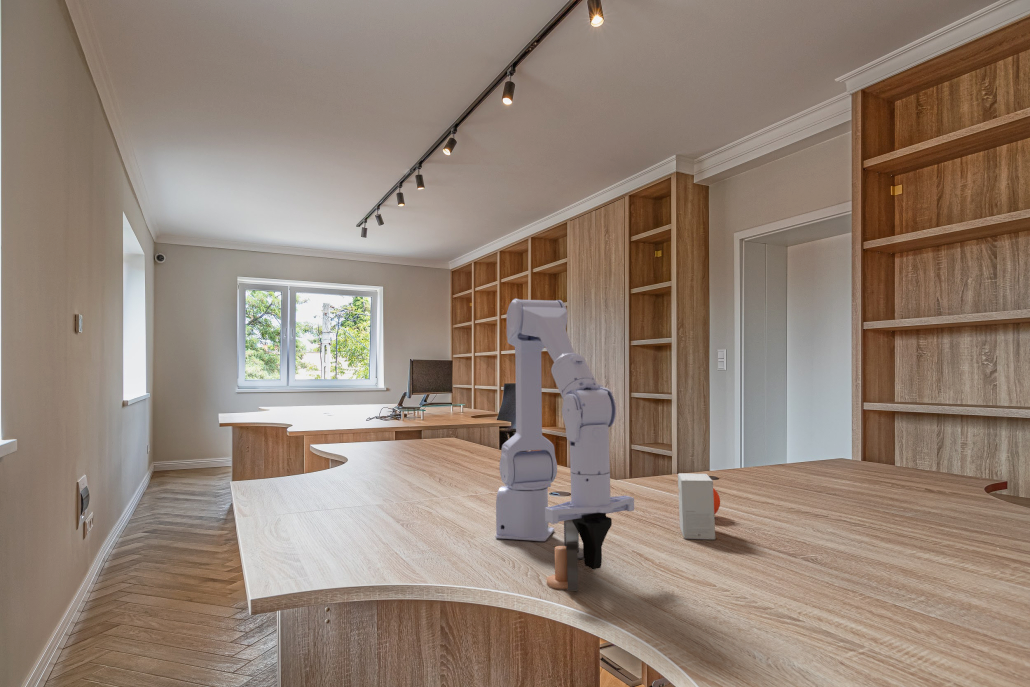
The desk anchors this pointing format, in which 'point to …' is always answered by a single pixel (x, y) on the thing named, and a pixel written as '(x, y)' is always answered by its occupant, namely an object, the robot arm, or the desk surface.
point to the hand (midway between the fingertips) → (592, 566)
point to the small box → (696, 506)
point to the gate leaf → (572, 555)
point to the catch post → (559, 570)
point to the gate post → (580, 550)
